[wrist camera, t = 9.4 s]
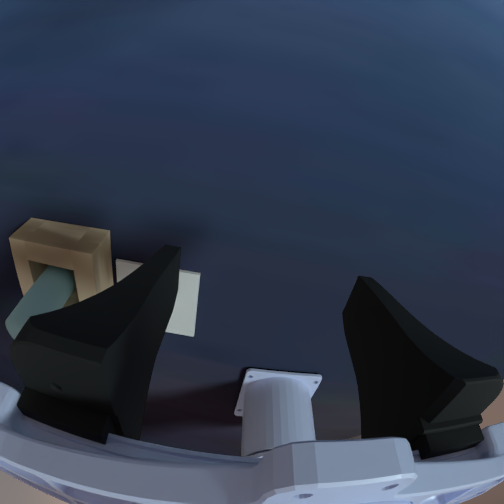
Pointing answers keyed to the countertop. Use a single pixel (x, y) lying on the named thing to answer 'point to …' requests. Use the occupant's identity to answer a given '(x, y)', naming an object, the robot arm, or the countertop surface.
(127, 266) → the mat
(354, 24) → the countertop surface
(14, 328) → the peg
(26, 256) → the hole block
